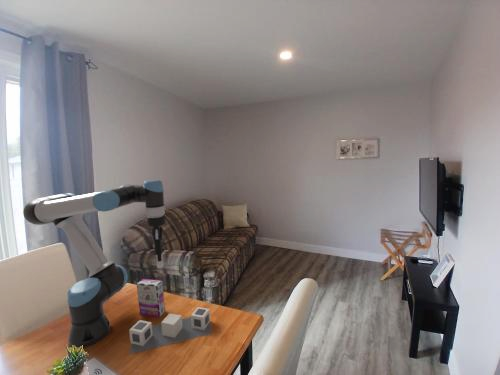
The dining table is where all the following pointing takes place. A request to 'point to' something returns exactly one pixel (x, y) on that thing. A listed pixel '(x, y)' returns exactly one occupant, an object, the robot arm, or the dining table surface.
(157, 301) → the candy bar box
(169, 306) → the dining table surface
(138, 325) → the marked block
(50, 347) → the dining table surface
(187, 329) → the grey mat
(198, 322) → the marked block
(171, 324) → the plain block
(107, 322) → the robot arm
